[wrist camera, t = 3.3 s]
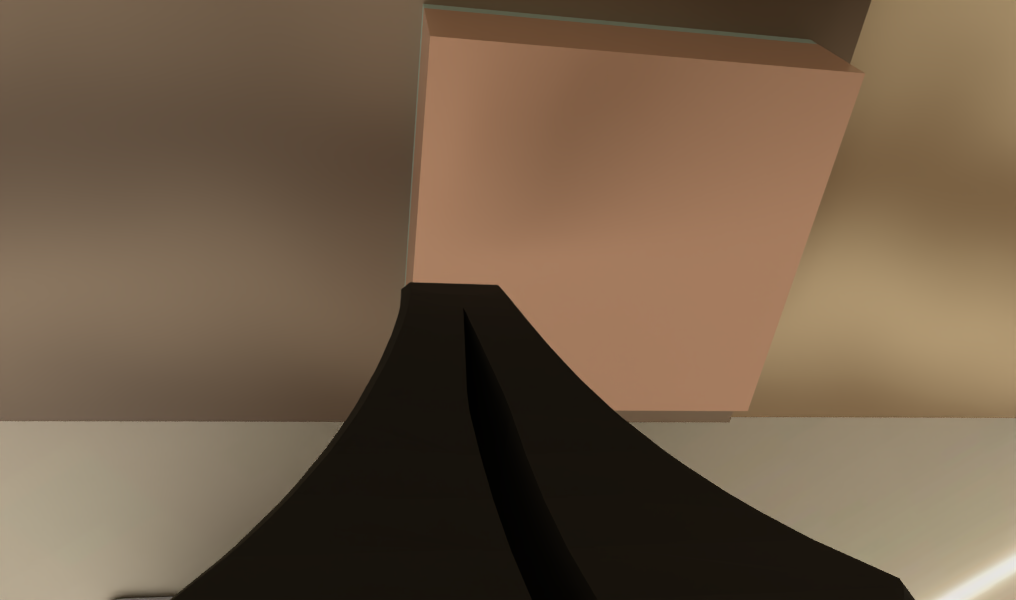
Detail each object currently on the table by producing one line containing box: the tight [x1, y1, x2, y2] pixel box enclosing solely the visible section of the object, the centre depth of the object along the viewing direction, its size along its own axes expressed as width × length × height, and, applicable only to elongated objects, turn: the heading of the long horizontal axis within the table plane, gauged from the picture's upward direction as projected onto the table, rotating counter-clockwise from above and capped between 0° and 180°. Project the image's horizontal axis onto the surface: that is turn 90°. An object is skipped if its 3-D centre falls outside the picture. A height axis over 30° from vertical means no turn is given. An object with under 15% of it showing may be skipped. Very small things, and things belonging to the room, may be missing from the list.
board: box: [0, 0, 1016, 422], centre depth 16 cm, size 11×27×2 cm, turn 83°
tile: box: [404, 4, 865, 411], centre depth 15 cm, size 7×2×7 cm
